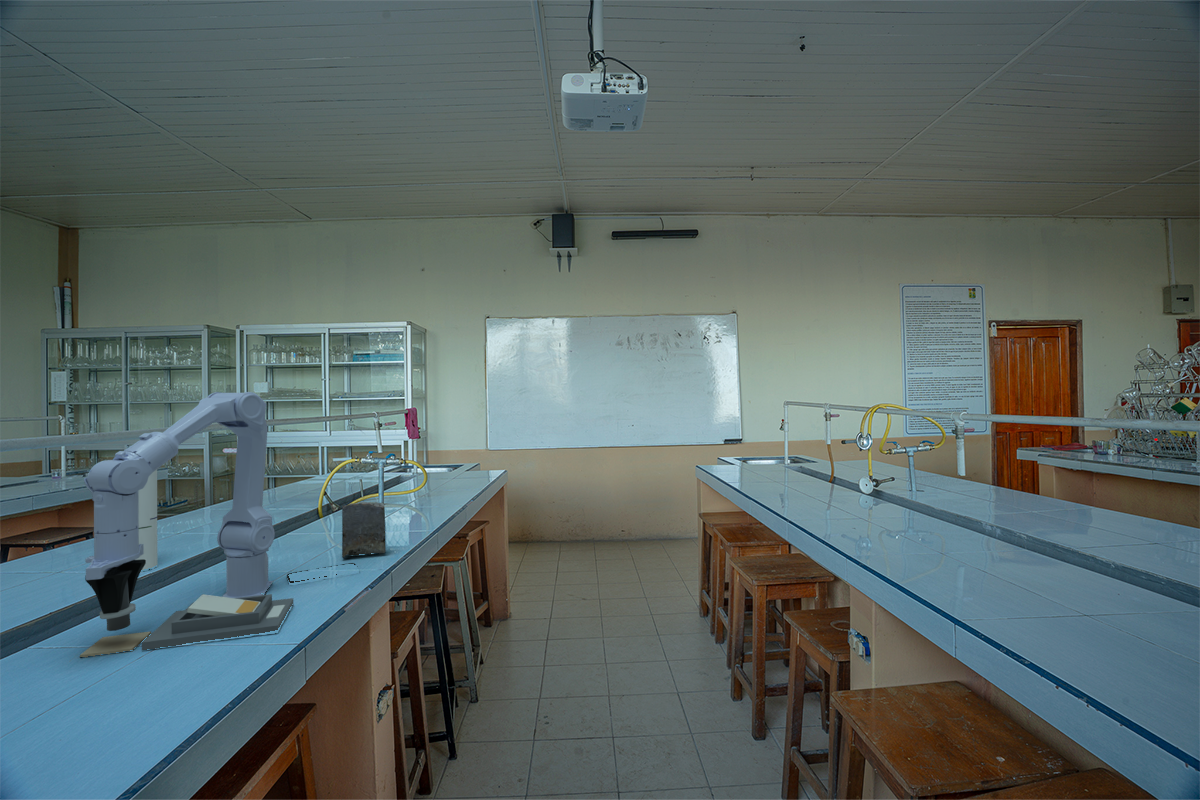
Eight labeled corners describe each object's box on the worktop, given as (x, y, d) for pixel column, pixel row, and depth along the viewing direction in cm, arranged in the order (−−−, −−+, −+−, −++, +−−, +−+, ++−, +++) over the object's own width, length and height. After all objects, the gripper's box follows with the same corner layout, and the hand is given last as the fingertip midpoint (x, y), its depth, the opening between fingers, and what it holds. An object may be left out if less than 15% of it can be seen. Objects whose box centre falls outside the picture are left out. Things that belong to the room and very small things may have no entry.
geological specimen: (385, 551, 149) (385, 497, 149) (385, 557, 143) (385, 501, 143) (342, 555, 145) (342, 500, 144) (341, 562, 139) (341, 504, 139)
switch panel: (176, 618, 103) (176, 600, 103) (293, 605, 110) (293, 588, 110) (141, 651, 90) (141, 630, 90) (277, 633, 97) (277, 614, 97)
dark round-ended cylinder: (110, 623, 94) (107, 572, 94) (142, 619, 95) (139, 569, 95) (94, 635, 89) (90, 581, 89) (127, 630, 91) (124, 577, 91)
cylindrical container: (164, 564, 137) (164, 467, 137) (141, 573, 130) (141, 470, 129) (136, 564, 137) (135, 467, 136) (111, 574, 129) (111, 471, 129)
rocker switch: (201, 598, 102) (202, 593, 102) (259, 605, 105) (261, 601, 105) (186, 612, 95) (188, 607, 95) (249, 619, 98) (251, 615, 98)
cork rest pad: (102, 639, 94) (102, 637, 94) (151, 634, 97) (151, 631, 97) (79, 658, 88) (79, 655, 88) (132, 651, 90) (132, 648, 90)
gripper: (110, 522, 98) (110, 596, 98) (61, 542, 84) (61, 628, 84) (157, 519, 100) (157, 591, 100) (117, 538, 86) (117, 622, 86)
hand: (116, 608), depth 92 cm, fingers closed on dark round-ended cylinder, 3 cm apart
